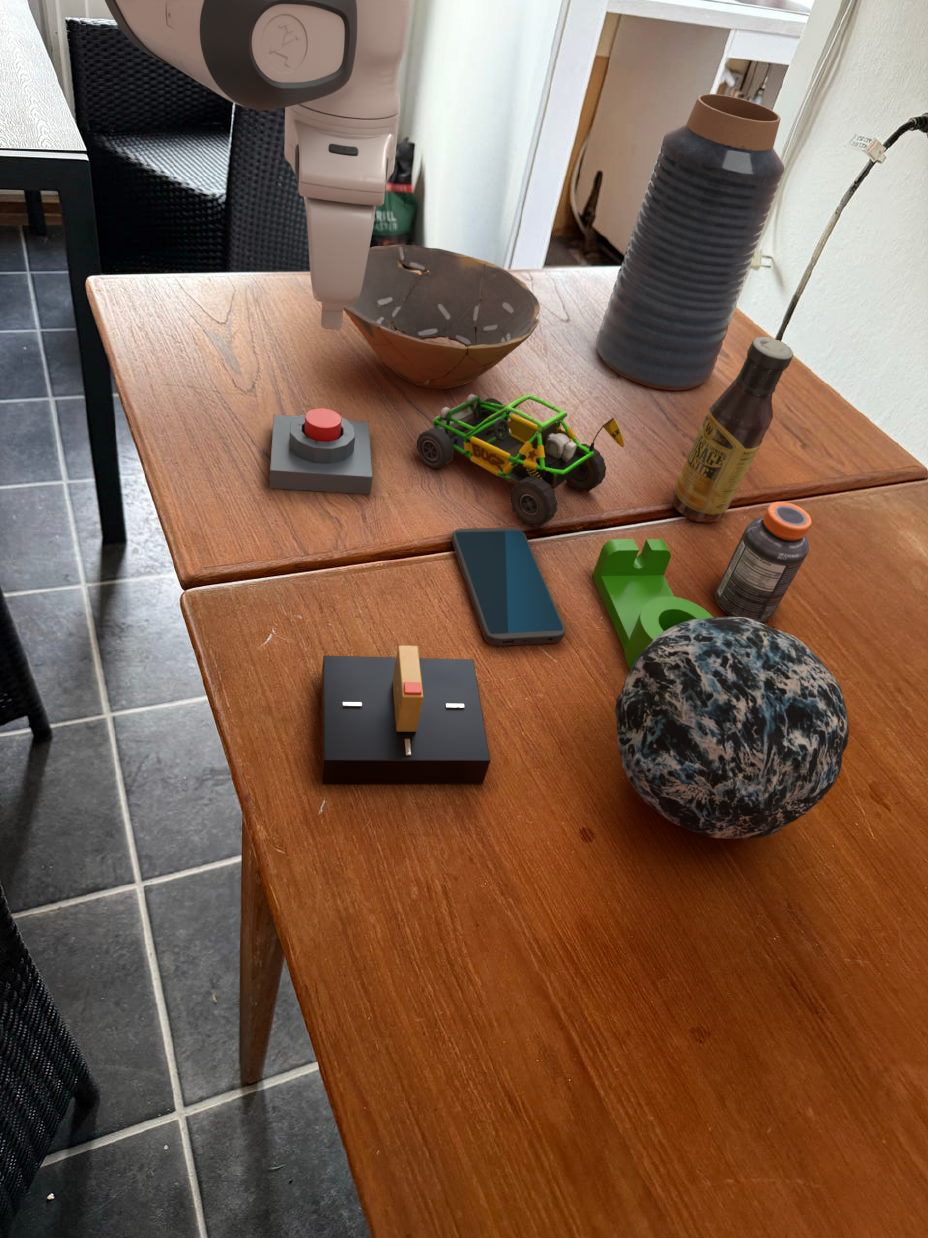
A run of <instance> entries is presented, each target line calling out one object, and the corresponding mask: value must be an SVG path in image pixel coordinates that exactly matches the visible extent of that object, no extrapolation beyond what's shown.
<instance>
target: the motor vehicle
mask: <svg viewBox="0 0 928 1238" xmlns="http://www.w3.org/2000/svg"><path fill="white" fill-rule="evenodd" d="M528 400H529V401H534V402H536V403H538V404H541V405H543V406H544V407H547V408H548V409H550V410H552V411H553V412H556V413H557V414H555V415H554V416H552V417H550V418H549V419H546V420H545V421H543V422H541V421H539V420H537V419H535V418H534V417H532V416H530V415H528V414H526V413H524V412H523V411H521V410H519V409H516V408H517V407H519V405H521V404H523V403H524V402H526V401H528ZM511 413H512V414H511ZM567 416H568V413H567V411H565V410H563V409H561V408H559V407H557V406H555V405H554V404H552V403H550V402H548V401H546V400H544V399H542V398H540V397H538V396H535V395H532V394H525V395H523V396H521V397H519V398H517V399H515V400H514V401H512V402H511V403H509V404H507V405H504V404H503V403H502V402H501V401H500V400H498V399H497V398H492V397H491V398H486V399H484V400H482V399H481V398H480V396H477V395H476V394H474V393H470V394H468V396H467V397H466V401H465V402H464V401H463V403H460V404H458V405H456V406H455V407H453V408H451V409H450V408H449V407H447V406H445V407H442V409H441V410H440V413H439V415H437V416H435V417H433V420H432V424H433V427H431V428H429V429H426V430H425V431H423V432H422V433H420V434H419V435H418V436H417V438H416V444H415V445H416V451H417V454H418V456H419V458H420V460H421V461H422V462H423V463H424V464H425V465H426V466H428V467H429V468H432V469H439V468H441V467H444V466H445V465H446V464H448V463H450V462H451V461H452V459H453V458H454V453H455V451H457V452H458V453H460V454H462V455H463V456H465V457H467V458H468V459H470V462H472V463H474V464H475V465H478V466H479V467H480V468H482V469H485V471H488V472H490V473H492V474H493V475H495V476H497V477H501V478H502V479H504V480H506V481H508V482H510V483H512V484H514V485H513V486H512V488H511V490H510V492H509V503H510V506H511V511H512V512H513V513H514V514H515V515H516V518H517V519H518V520H520V521H521V522H522V523H523V524H524V525H528V526H529V527H538V528H539V527H542V526H543V525H544V524H545V525H546V523H548V522H549V521H551V520H552V519H553V518H554V517H555V515H556V514H557V512H558V504H559V503H558V499H557V496H556V495H557V494H556V492H555V490H554V489H555V488H557V487H559V486H560V485H562V484H564V482H566V484H567V485H568V486H570V487H571V488H572V489H573V490H577V491H578V492H590V491H591V490H593V489H595V488H596V487H598V486H599V485H601V484H602V483H603V480H604V479H605V478H606V475H607V474H606V472H607V465H606V462H605V458H604V456H603V455H602V454H601V452H600V451H599V450H598V449H596V448H595V441H596V439H597V436H598V435H599V434H600V432H601V431H602V429H604V430H605V431H606V432H607V433H608V434H609V436H610V437H611V438H612V439H613V440H614V441H615V443H616V444H617V445H619V447H621V448H625V439H624V437H623V434H622V431H621V429H620V426H619V424H618V422H617V421H616V419H615V418H614V417H612V418H610V419H609V420H608V421H607V422H605V423H604V424H603V425H602V426H601V428H600V429H599V430H598V431H597V433H596V435H595V436H594V438H593V441H592V442H591V443H590V445H589V444H587V443H580V442H579V441H578V439H577V435H576V433H575V432H574V431H573V429H572V428H571V427H570V426H568V425H567V423H566V422H565V418H567ZM562 427H563V429H562Z"/></svg>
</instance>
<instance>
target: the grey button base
mask: <svg viewBox="0 0 928 1238" xmlns="http://www.w3.org/2000/svg"><path fill="white" fill-rule="evenodd" d="M305 415H306V413H303V414H299V415H287V414H286V415H285V414H273V417H272V418H273V419H272V431H271V433H272V434H271V449H270V462H269V463H270V464H269V489H276V490H277V489H278V490H291V491H292V490H293V491H294V490H295V491H307V492H308V491H310V492H322V493H323V492H325V493H339V494H341V493H343V494H355V495H356V494H357V495H358V494H359V495H371V494H372V486H373V466H372V465H373V464H372V463H373V462H372V449H371V437H370V424H369V423H370V422H369V421H363V420H362V421H361V420H351V419H350V420H348V419H346V418H344V417H342V416H340V417H341V432H340V436H339V438H338V439H337V440H334V441H330V442H322V441H315V440H313V439H310V438H309V437H307V436H306V434H305V431H304V430H305Z"/></svg>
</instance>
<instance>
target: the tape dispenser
mask: <svg viewBox="0 0 928 1238" xmlns="http://www.w3.org/2000/svg"><path fill="white" fill-rule="evenodd" d="M670 551H671V550H669V548H668V546H667V544H666V542H665V540H663V539H661V538H646V539H645V542H644V544H643V547H642V549H641V552H640V550H639V547H638V545H637V543H636V541H635V539H634V538H612V539H610V540H608V541H606V542H605V543H603V545H602V547H601V549H600V553H599V555H598V558H597V562H596V564H595V566H594V569H593V572H592V574H591V577H592V579H593V580H594V583H595V586H596V588H597V591H598V592H599V595H600V597H601V599H602V602H603V604H604V606H605V608H606V611H607V613H608V615H609V616H608V617H609V618H610V620H611V622H612V624H613V627H614V629H615V632H616V634H617V636H618V639H619V641H620V643H621V646H622V647H623V650H624V659H625V662H626V665H627V666H628V668H629V669H630V670H631V668H632V666H633V664H634V662H635V661H636V659H637V658H638V656H639V655H640V654H641V653H642V652H643V651H644V650H645V649H646V648H647V647H648V646H649V644H650V643H651V642H652V641H653V640H654V639H655V638H656V637H657V636H659V635H660V634H661V633H663V632H664V631H666V630H667V629H669V628H671V627H673V626H675V625H678V624H680V623H683V622H686V621H689V620H693V619H704V618H713V617H714V616H713V615H712V614H711V613H709V612H708V611H707V610H706V609H705V608H704V607H701V606H700V605H699V604H697V603H696V602H692V601H691V600H689V599H685V598H682V597H677V596H675V594H674V593H673V591H672V589H671V587H670V585H669V583H668V582H667V580H666V578H665V572H666V570H667V568H668V566H669V563H670V561H671V559H672V554H671V552H670ZM639 552H640V553H639Z"/></svg>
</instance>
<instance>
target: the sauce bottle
mask: <svg viewBox="0 0 928 1238" xmlns="http://www.w3.org/2000/svg"><path fill="white" fill-rule="evenodd" d="M746 353H747V354H746V358H745V360H744V362H743V365H742V366H741V369H740V371H739V373H738V375H737V376H736V378H734V380H733V381H732V383H730V384H729V386H728V387H727V388H726V389H725V390H724V391H723V393H721V395H720V396H719V397H718V398H717V399H716V401H715V402H713V404H712V405H711V406H710V407H709V409H708V411H707V413H706V415H705V417H704V419H703V421H702V423H701V426H700V428H699V430H698V433H697V435H696V437H695V438H694V441H693V444H692V445H691V448H690V450H689V453H688V455H687V457H686V459H685V462H684V464H683V466H682V468H681V470H680V473H679V474H678V477H677V479H676V481H675V484H674V488H673V491H672V494H671V503H672V506H673V507H674V509H675V510H676V511H677V512H678V513H679V514H680V515H682V516H684V517H685V518H686V519H688V520H689V521H692V522H698V523H704V524H708V523H714V522H717V521H719V520H720V519H721V518H723V516H724V515H725V513H726V511H727V510H728V509H729V507H730V505H731V503H732V501H733V499H734V498H735V496H736V494H737V492H738V490H739V488H740V486H741V483H742V482H743V480H744V478H745V476H746V474H747V472H748V470H749V468H750V466H751V464H752V462H753V460H754V458H755V456H756V455H757V453H758V451H759V449H760V447H761V446H762V443H763V439H764V437H765V435H766V433H767V431H768V429H769V428H770V425H771V423H772V420H773V419H774V409H773V394H774V393H775V392H776V387H777V386H778V383H779V381H780V379H781V377H782V375H783V373H784V371H786V369H788V367H789V366H790V364H791V362H792V359H793V357H794V352H793V350H792V348H791V347H790V346H789V345H787V343H785V342H783V341H781V340H779V339H777V338H773V337H769V336H758V337H755V338H754V339H753V340H752V342H751V344H750V345H749V348H748V349H747V352H746Z"/></svg>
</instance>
